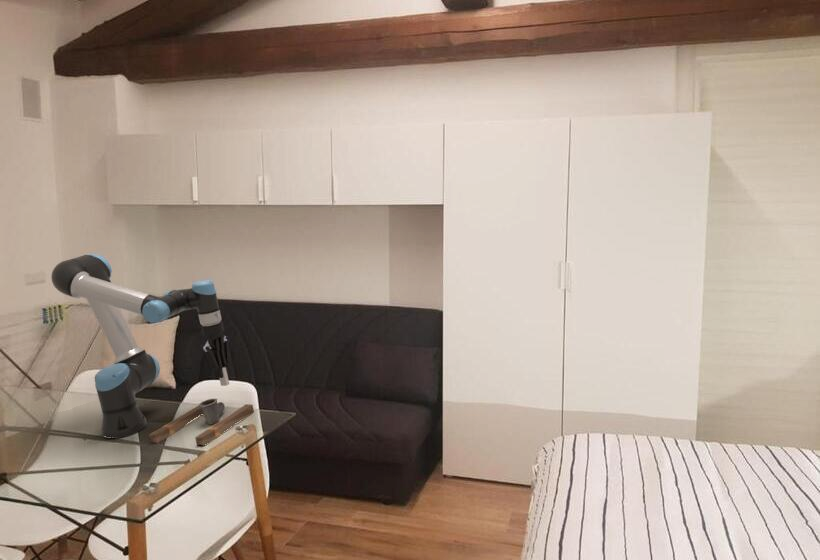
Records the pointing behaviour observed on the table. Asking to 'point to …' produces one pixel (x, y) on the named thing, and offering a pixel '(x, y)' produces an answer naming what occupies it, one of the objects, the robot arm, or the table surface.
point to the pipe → (212, 410)
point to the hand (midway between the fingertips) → (225, 384)
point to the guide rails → (206, 435)
